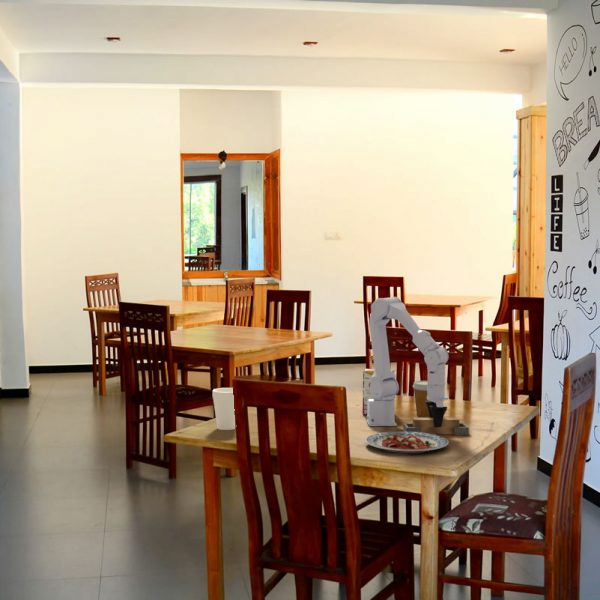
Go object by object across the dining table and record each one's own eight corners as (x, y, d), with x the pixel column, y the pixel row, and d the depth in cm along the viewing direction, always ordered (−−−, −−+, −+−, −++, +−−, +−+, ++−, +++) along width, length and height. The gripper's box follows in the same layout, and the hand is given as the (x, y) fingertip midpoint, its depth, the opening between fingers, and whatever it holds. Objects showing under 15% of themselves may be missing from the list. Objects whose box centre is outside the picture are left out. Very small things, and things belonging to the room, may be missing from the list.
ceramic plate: (354, 453, 280) (354, 443, 279) (377, 435, 304) (377, 426, 303) (439, 460, 271) (439, 450, 270) (455, 441, 295) (455, 432, 294)
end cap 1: (406, 435, 303) (406, 427, 302) (403, 430, 310) (403, 423, 310) (420, 435, 303) (421, 427, 302) (417, 430, 310) (417, 423, 310)
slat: (414, 434, 305) (414, 419, 304) (412, 432, 308) (412, 417, 308) (459, 434, 305) (459, 419, 304) (457, 432, 308) (457, 417, 308)
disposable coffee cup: (437, 413, 340) (438, 380, 339) (439, 418, 330) (439, 385, 329) (411, 412, 341) (412, 380, 340) (412, 417, 331) (412, 384, 330)
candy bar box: (362, 415, 335) (362, 370, 334) (363, 412, 340) (363, 368, 339) (393, 416, 333) (393, 371, 332) (394, 413, 338) (394, 369, 337)
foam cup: (215, 424, 318) (215, 387, 317) (242, 425, 318) (241, 387, 317) (211, 430, 309) (210, 392, 308) (238, 431, 308) (238, 392, 307)
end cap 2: (454, 435, 303) (454, 427, 303) (449, 430, 310) (450, 423, 310) (468, 435, 303) (468, 427, 303) (464, 430, 310) (464, 422, 310)
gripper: (452, 387, 298) (451, 429, 299) (444, 380, 313) (443, 420, 314) (430, 387, 298) (430, 429, 299) (423, 380, 312) (422, 420, 313)
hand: (435, 424), depth 306 cm, fingers open, 7 cm apart
